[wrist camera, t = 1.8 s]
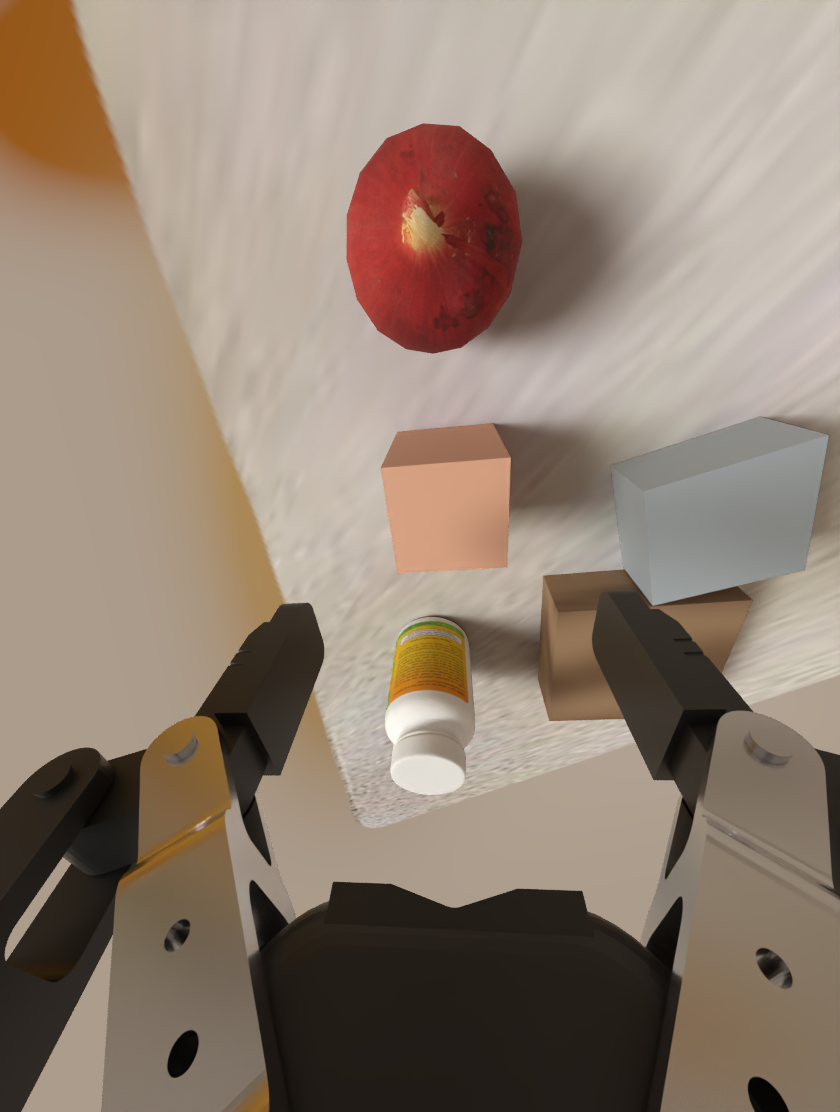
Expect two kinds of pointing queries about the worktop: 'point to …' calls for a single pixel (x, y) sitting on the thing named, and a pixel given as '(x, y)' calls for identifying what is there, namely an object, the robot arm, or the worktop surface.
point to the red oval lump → (433, 238)
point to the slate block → (719, 508)
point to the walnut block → (568, 628)
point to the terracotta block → (448, 498)
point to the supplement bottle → (430, 706)
